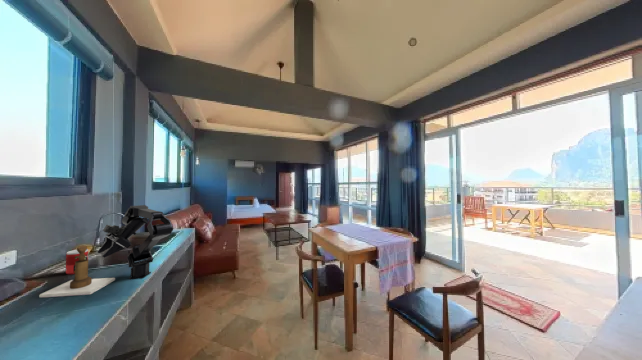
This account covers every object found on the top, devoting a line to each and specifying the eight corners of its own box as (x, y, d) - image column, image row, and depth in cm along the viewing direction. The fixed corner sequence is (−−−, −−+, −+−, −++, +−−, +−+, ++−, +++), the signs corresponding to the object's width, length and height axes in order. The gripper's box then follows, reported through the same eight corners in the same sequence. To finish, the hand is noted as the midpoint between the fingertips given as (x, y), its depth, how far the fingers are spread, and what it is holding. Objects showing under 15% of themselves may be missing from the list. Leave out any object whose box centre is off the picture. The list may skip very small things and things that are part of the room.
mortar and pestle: (95, 283, 96) (96, 244, 96) (74, 290, 90) (76, 248, 90) (86, 280, 98) (87, 243, 98) (66, 287, 92) (67, 247, 92)
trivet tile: (114, 280, 102) (114, 277, 102) (90, 294, 89) (90, 291, 89) (71, 282, 98) (71, 280, 98) (39, 297, 86) (39, 294, 86)
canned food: (75, 275, 106) (76, 253, 106) (60, 274, 106) (61, 253, 107) (92, 268, 114) (92, 248, 114) (78, 268, 114) (78, 248, 114)
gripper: (112, 216, 108) (79, 242, 99) (123, 220, 98) (87, 250, 89) (131, 228, 115) (102, 253, 105) (143, 234, 105) (112, 262, 95)
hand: (100, 254), depth 99 cm, fingers open, 9 cm apart
